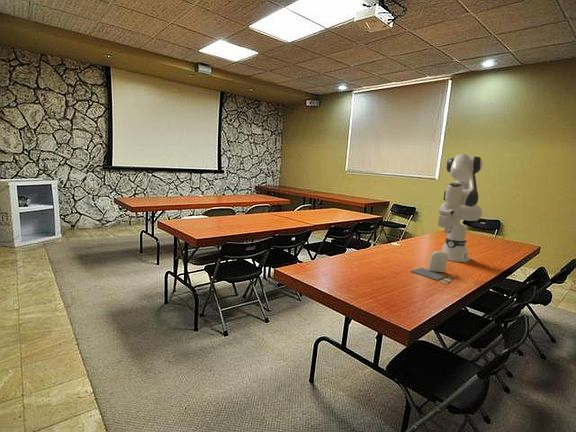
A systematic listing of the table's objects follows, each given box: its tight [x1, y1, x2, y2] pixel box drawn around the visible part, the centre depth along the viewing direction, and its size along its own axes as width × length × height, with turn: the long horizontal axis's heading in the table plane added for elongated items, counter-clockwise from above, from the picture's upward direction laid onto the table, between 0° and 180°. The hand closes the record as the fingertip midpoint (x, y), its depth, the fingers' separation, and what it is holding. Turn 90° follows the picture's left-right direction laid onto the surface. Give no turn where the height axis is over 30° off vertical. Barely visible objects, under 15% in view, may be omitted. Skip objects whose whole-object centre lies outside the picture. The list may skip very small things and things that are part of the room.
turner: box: [439, 274, 454, 285], centre depth 182 cm, size 16×4×1 cm, turn 138°
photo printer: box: [427, 250, 448, 273], centre depth 194 cm, size 10×4×12 cm, turn 103°
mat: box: [410, 267, 448, 281], centre depth 189 cm, size 12×16×1 cm
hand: (447, 233), depth 195 cm, fingers closed
